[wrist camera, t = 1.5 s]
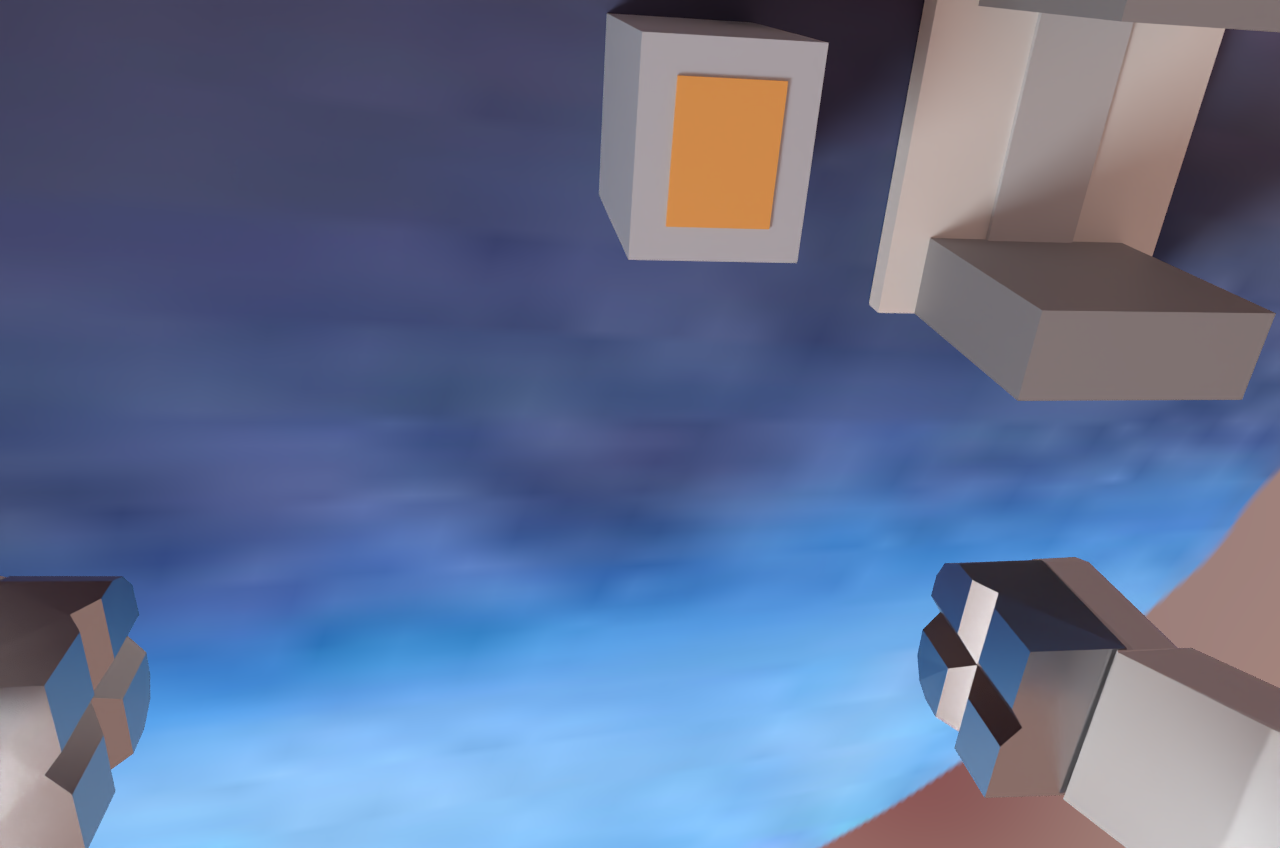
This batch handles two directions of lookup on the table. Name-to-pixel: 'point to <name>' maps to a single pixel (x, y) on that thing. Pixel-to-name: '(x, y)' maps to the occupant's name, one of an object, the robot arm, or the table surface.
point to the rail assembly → (1063, 197)
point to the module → (708, 137)
